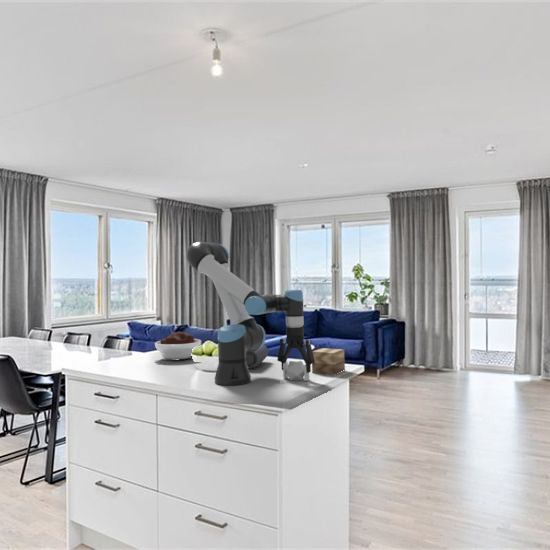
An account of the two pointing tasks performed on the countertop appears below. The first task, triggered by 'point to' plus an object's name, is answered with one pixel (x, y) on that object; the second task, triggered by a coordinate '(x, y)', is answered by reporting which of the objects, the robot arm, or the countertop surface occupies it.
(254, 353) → the bluetooth speaker
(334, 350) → the oak slab
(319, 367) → the walnut slab
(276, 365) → the countertop surface
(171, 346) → the white filled bowl
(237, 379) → the robot arm
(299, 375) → the die
